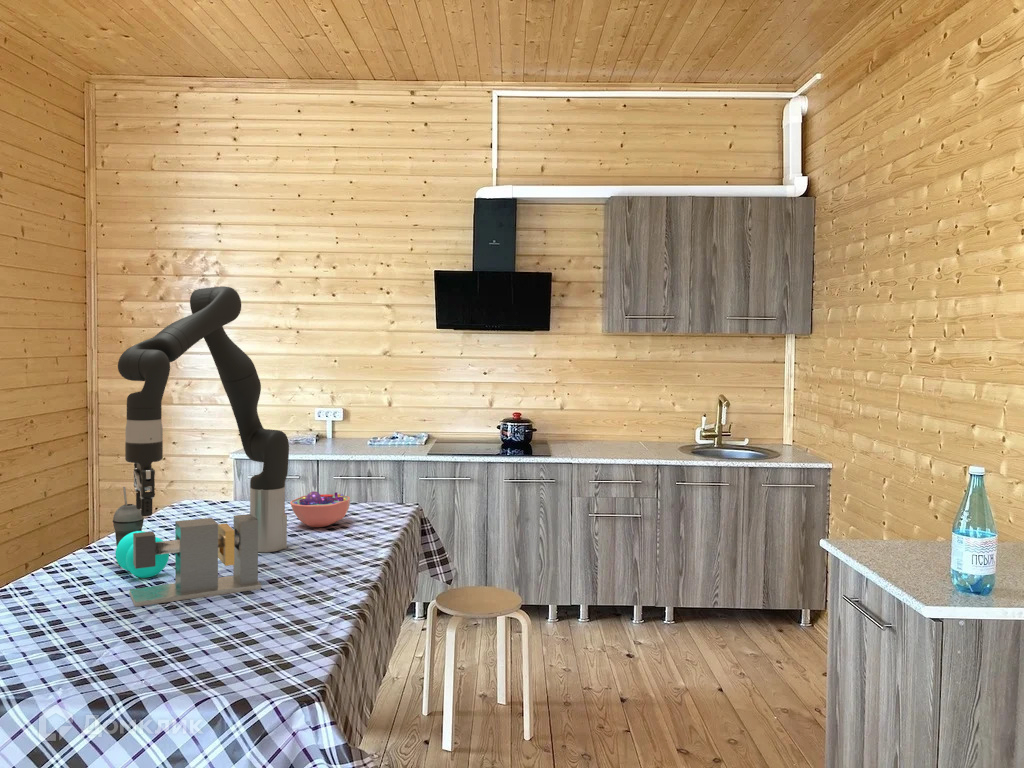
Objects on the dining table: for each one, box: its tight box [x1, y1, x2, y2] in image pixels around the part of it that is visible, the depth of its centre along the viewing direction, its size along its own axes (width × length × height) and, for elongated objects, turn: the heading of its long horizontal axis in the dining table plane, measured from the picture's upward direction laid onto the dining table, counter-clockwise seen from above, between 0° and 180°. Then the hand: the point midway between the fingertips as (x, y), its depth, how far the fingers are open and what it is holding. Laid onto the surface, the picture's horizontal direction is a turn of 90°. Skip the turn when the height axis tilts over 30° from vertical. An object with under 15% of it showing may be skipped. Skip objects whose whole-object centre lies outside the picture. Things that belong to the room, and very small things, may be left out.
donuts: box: [114, 530, 170, 579], centre depth 196 cm, size 10×10×10 cm
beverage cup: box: [112, 486, 145, 568], centre depth 203 cm, size 7×7×20 cm
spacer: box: [218, 522, 234, 567], centre depth 187 cm, size 2×8×8 cm, turn 32°
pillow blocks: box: [128, 513, 263, 608], centre depth 184 cm, size 27×10×16 cm, turn 122°
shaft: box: [133, 530, 239, 569], centre depth 183 cm, size 26×4×7 cm, turn 122°
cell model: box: [289, 490, 351, 528], centre depth 251 cm, size 17×20×11 cm
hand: (144, 512), depth 177 cm, fingers open, 8 cm apart
